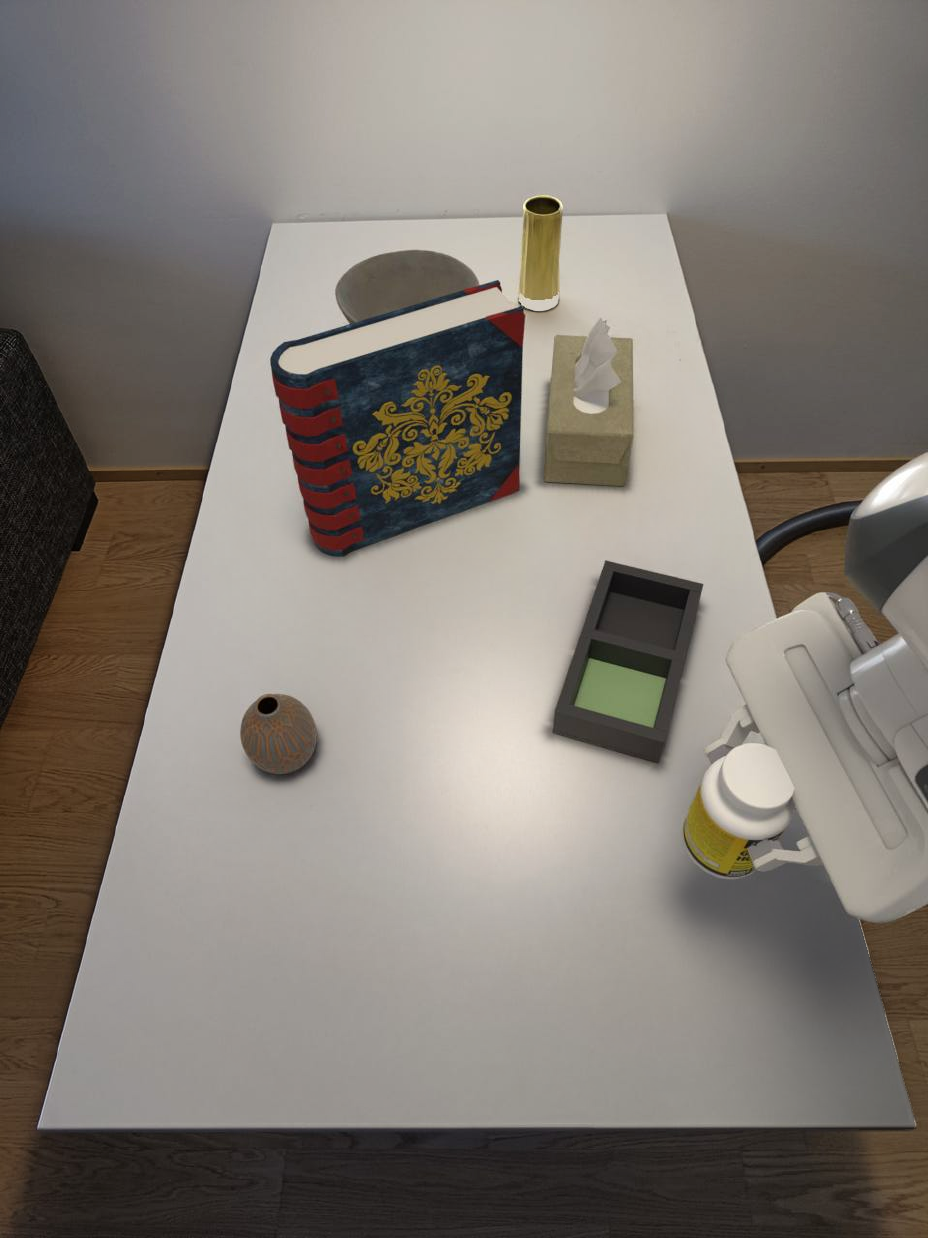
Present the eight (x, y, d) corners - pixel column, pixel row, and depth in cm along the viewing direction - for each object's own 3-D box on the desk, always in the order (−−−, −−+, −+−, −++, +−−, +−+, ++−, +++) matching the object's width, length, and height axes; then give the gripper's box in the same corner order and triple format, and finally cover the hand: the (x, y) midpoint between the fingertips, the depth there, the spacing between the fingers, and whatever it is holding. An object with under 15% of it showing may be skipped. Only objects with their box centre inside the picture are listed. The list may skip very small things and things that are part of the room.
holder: (658, 763, 84) (664, 742, 80) (552, 733, 86) (554, 711, 83) (696, 607, 95) (703, 583, 91) (601, 584, 97) (605, 560, 94)
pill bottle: (729, 899, 63) (768, 839, 54) (663, 838, 66) (689, 771, 57) (783, 844, 65) (828, 777, 56) (717, 787, 68) (750, 715, 59)
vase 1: (334, 759, 85) (320, 712, 78) (270, 797, 83) (249, 753, 76) (300, 709, 88) (284, 660, 81) (238, 744, 86) (215, 696, 79)
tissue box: (625, 488, 105) (642, 381, 93) (543, 484, 106) (550, 376, 94) (625, 387, 117) (641, 279, 104) (551, 384, 118) (558, 276, 105)
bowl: (382, 414, 115) (374, 349, 107) (324, 338, 125) (312, 274, 117) (506, 366, 120) (506, 301, 112) (440, 298, 130) (436, 234, 122)
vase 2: (552, 315, 127) (558, 220, 115) (511, 307, 128) (513, 212, 117) (564, 292, 130) (571, 197, 119) (525, 284, 131) (528, 190, 120)
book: (323, 565, 100) (280, 387, 80) (303, 525, 103) (257, 345, 83) (522, 493, 105) (528, 311, 86) (496, 457, 109) (496, 275, 89)
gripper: (818, 564, 58) (654, 674, 65) (995, 857, 46) (771, 954, 53) (858, 593, 62) (700, 694, 69) (1031, 869, 50) (819, 958, 57)
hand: (732, 809), depth 61 cm, fingers closed on pill bottle, 6 cm apart
